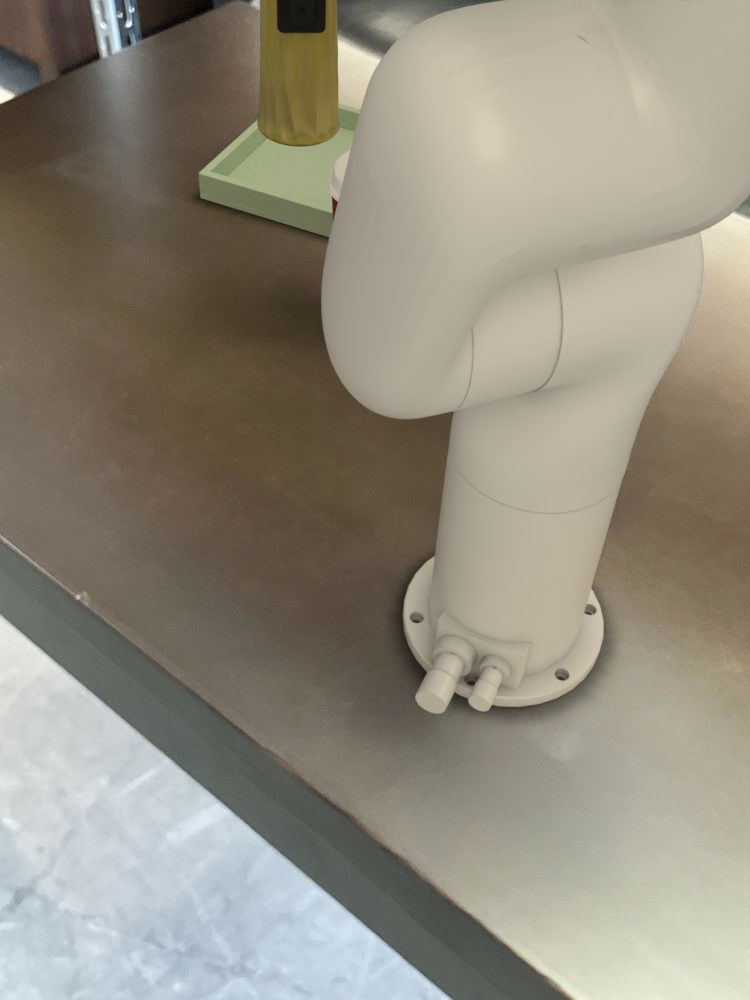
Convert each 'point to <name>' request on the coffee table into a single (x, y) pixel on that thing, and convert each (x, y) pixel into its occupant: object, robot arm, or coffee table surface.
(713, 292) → the coffee table surface
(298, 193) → the tray
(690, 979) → the coffee table surface
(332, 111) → the vase
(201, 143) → the coffee table surface
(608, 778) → the coffee table surface
